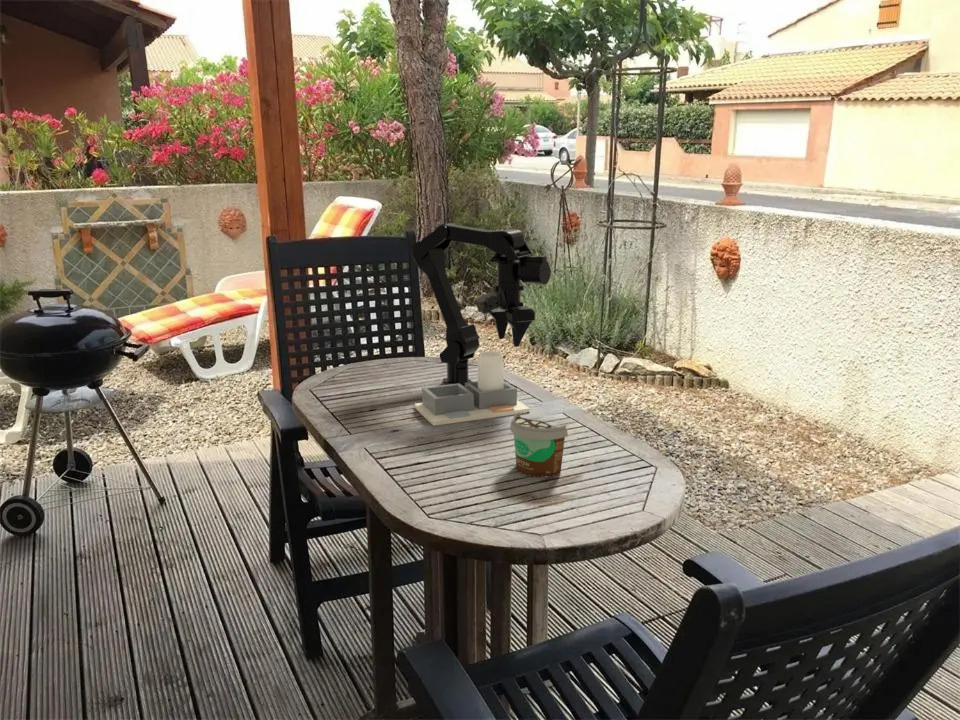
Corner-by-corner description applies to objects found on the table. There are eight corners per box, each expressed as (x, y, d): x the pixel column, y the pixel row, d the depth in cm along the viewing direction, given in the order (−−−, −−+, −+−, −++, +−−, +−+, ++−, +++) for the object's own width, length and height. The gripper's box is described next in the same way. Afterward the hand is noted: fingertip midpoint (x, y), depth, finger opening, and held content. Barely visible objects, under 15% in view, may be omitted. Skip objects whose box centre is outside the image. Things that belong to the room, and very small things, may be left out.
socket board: (414, 407, 186) (414, 387, 184) (505, 396, 194) (506, 377, 193) (433, 425, 173) (432, 404, 172) (529, 412, 182) (530, 392, 180)
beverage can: (505, 405, 184) (505, 356, 181) (480, 406, 183) (479, 357, 180) (501, 397, 190) (501, 350, 187) (476, 398, 189) (476, 351, 186)
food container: (496, 467, 150) (496, 419, 147) (517, 459, 154) (517, 411, 151) (546, 485, 141) (547, 434, 139) (566, 475, 146) (568, 425, 143)
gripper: (465, 278, 196) (465, 337, 200) (493, 289, 179) (493, 354, 183) (505, 275, 200) (504, 334, 204) (536, 286, 183) (535, 349, 187)
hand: (508, 342), depth 194 cm, fingers open, 9 cm apart
